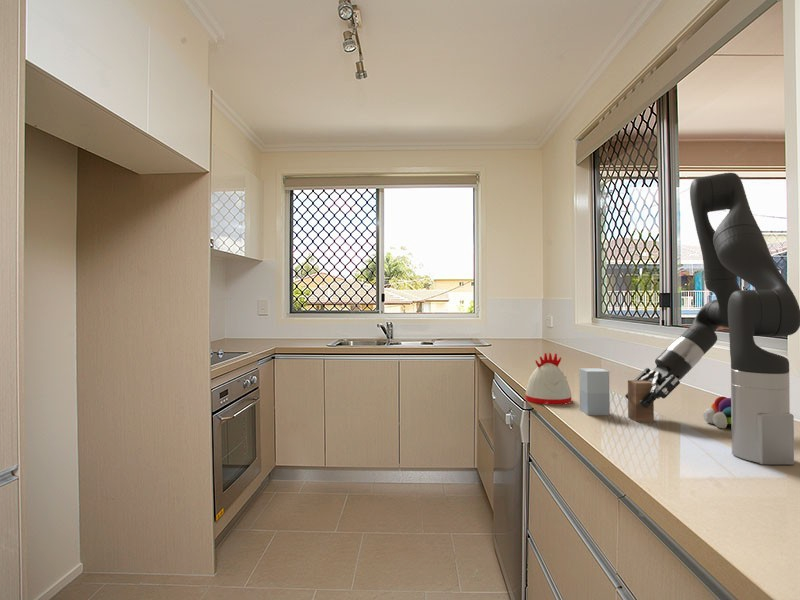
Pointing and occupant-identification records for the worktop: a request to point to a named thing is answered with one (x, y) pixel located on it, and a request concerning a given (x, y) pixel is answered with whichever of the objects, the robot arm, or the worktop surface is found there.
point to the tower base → (595, 403)
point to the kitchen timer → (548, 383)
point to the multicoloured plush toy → (719, 412)
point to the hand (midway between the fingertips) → (635, 402)
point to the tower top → (594, 380)
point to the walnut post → (635, 394)
